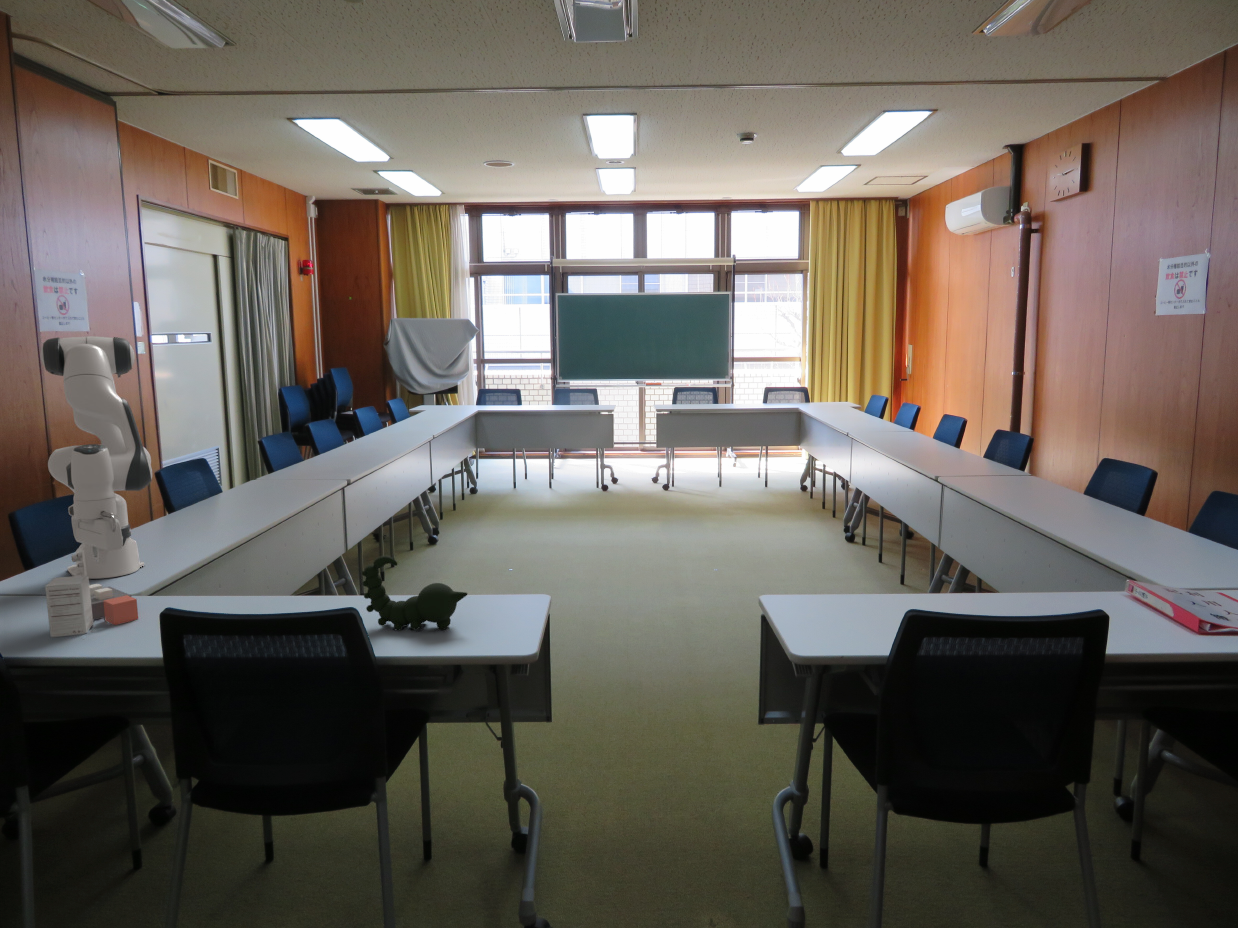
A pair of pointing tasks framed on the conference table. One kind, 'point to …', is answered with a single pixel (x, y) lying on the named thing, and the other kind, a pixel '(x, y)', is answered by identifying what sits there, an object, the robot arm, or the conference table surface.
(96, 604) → the block
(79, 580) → the supplement box
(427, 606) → the toy figurine
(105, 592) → the block
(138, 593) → the conference table surface
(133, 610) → the red cube
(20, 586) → the conference table surface
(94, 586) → the breaker
